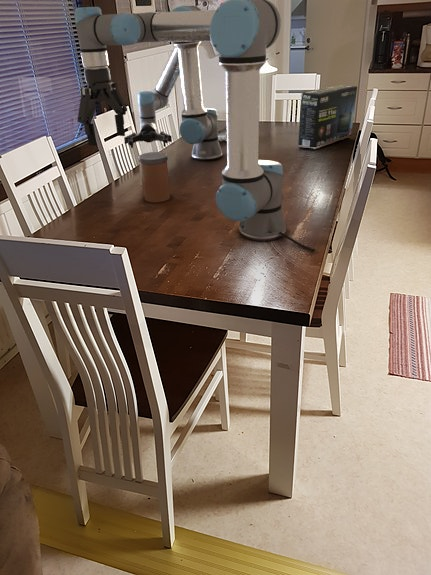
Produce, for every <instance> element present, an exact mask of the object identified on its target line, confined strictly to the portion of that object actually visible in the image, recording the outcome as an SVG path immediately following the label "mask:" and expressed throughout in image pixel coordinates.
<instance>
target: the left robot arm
mask: <svg viewBox="0 0 431 575" xmlns="http://www.w3.org/2000/svg"><path fill="white" fill-rule="evenodd" d="M201 10H202V9H201V8H200V7H198V6H195V5H179V6H176V7H175V8H173V9H172V10H170V12H179V11H201ZM201 43H202V42H172V45H173V48H172V51H171V52H170V54H169V57H168V59H167V61H166V64H165V66H164V68H163V70H162V72H161V74H160V76H159V78H158V80H157V83H156V85H155V87H154V89H153V91H150V90H149V91H148V90H147V91H146V90H144V91H139V92H138V93H137V103H138V104H137V105H138V106H137V107H138V115H139V125H140V126H139V127H140V128H139V132H138V133H136V132H132V133H130V134H129V135H125V136H123V140H124V144H126V145H127V144H128V146H130V149H133V148H134V144H135V143H138V142H144V143H147V144H149V143H153V142H156V141H159V142H162V143H163V144H162V145H163V147H165V148H166V144H168V143H172V142H173V138H172V135H171V134H168V133H166V132H165V131H160V132H159V133H158V131H157V129H158V126H157V115H156V111H158V110H161V109H163V108H166V107H167V105H168V104H169V101H170V95H171V93H172V91H173V89H174V87H175V85H176V84H177V81H178V79H179V77H180V83H181V84H180V85H181V93H182V103H183V110H182V111H181V113H180V114H181V115H180V116H181V122H180V125H179V134H180V137H181V138H182V140H184V142H185V143H187V144H189V145H193V147H192V151H191V158H192V159H193V160H195V161H199V162H210V161H212V162H213V161H216V160H220V159H222V157H223V151H222V147H221V143H220V142H219V139H218V135H219V133H220V132H221V131H225V130H227V127H224V128H221V129H219V121H218V119H219V118H218V117H219V115H218V110H217V109H216V108H209V107H208V108H207V107H204V102H203V92H202V91H203V90H202V79H201V68H200V58H199V46H200V44H201Z"/></svg>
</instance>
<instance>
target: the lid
mask: <svg viewBox="0 0 431 575" xmlns="http://www.w3.org/2000/svg"><path fill="white" fill-rule="evenodd" d="M168 158H169V157H168V153H166V152H164V151H163V152H162V151H150V152H145V153H142V154H140V155H138V162H139V164H140V163H142V164H159V163H163V162H166V161H167V162H168V160H169V159H168Z"/></svg>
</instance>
